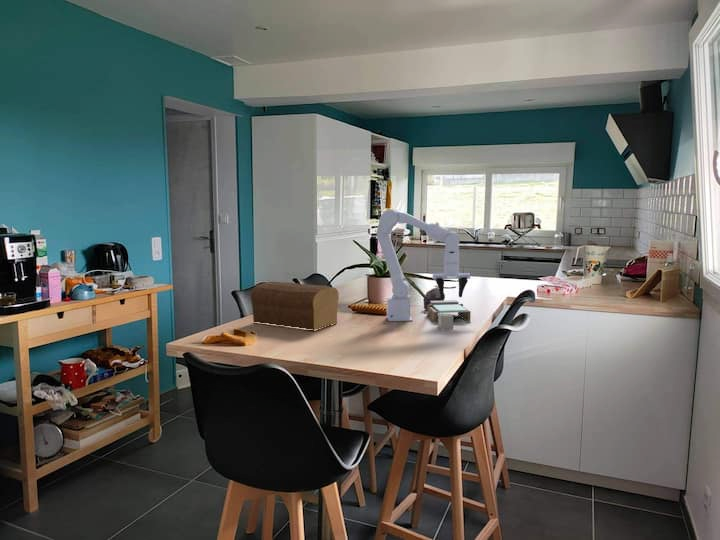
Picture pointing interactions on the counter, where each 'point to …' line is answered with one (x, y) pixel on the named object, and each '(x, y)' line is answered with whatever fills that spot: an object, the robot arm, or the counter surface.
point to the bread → (295, 304)
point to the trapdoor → (447, 306)
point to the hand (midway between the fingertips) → (451, 297)
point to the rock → (432, 297)
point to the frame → (434, 314)
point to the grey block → (445, 321)
